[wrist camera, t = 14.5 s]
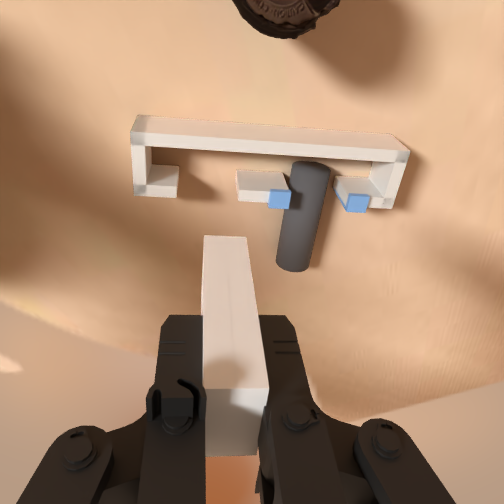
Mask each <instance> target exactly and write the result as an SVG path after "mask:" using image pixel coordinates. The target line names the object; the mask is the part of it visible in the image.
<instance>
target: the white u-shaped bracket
mask: <svg viewBox="0 0 504 504" xmlns="http://www.w3.org/2000/svg"><path fill="white" fill-rule="evenodd" d="M130 137H131V154H132V172H133V189H134V196H149V197H169V198H177V190H178V182H179V166H171V165H154V164H152V152H151V146H155V147H170V148H185V149H200V150H216V151H231V152H246V153H261V154H276V155H291V156H306V157H321V158H336V159H351V160H366V161H373V162H372V166H371V170H370V173H369V177H352V176H336V175H335V180H334V184H333V189H334V191H335V193H336V195H337V196H338V198H339V200H340V201H341V203H342V205H343V207H344V208H345V210H346V212H359V213H365V212H366V209H367V208H386V209H392V207H393V204H394V201H395V198H396V195H397V192H398V189H399V185H400V182H401V179H402V176H403V173H404V170H405V167H406V164H407V161H408V158H409V155H410V150H409V149H407V148H406V147H405V146H404V145H403V144H402V143H401V142H400V141H398V140H397V139H396V138H395V137H394V136H393V135H392V134H383V133H369V132H356V131H343V130H330V129H317V128H304V127H290V126H277V125H264V124H251V123H238V122H224V121H211V120H198V119H185V118H172V117H159V116H145V115H138V116H137V118H136V120H135V122H134V124H133V126H132V129H131V131H130ZM235 181H236V188H237V196H238V201H248V202H267V204H268V207H269V208H277V209H289V203H290V197H291V190H289V189H288V187H287V184H286V181H285V179H284V176H283V173H282V172H270V171H253V170H237V169H236V177H235Z"/></svg>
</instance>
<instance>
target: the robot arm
mask: <svg viewBox="0 0 504 504" xmlns="http://www.w3.org/2000/svg"><path fill="white" fill-rule="evenodd" d="M146 410H147V412H146V413H145V414H144V415H143V416H142V417H141V418H140V419H138V420H137V421H135V422H134V423H132V424H130V425H127V426H125V427H122V428H119V429H116V430H113V431H110V432H105V431H104V430H103V429H100V428H98V427H95V426H79V427H76V428H72V429H70V430H68V431H67V432H65V433H64V434H62V435H60V436H59V437H58V438H57V439H56V440H55V441H54V443H53V444H52V445H51V446H50V447H49V449H48V451H47V452H46V454H45V456H44V457H43V459H42V461H41V463H40V464H39V466H38V468H37V469H36V471H35V473H34V474H33V476H32V478H31V479H30V481H29V483H28V485H27V486H26V488H25V490H24V491H23V493H22V495H21V496H20V498H19V500H18V502H17V503H16V504H206V499H205V498H206V497H205V496H206V493H205V492H206V485H205V483H206V481H205V479H206V475H205V474H206V473H205V457H214V456H245V455H257V449H259V458H260V466H259V471H258V476H257V481H256V488H255V493H259V492H260V502H261V504H456V503H455V502H454V500H453V498H452V497H451V496H450V494H449V493H448V491H447V490H446V488H445V487H444V485H443V484H442V482H441V481H440V480H439V478H438V477H437V475H436V474H435V472H434V471H433V469H432V468H431V467H430V465H429V464H428V462H427V461H426V459H425V458H424V456H423V455H422V454H421V452H420V451H419V449H418V448H417V446H416V445H415V444H414V442H413V440H412V439H411V437H410V436H409V435H408V434H407V433H406V432H405V431H404V430H403V429H402V428H401V427H400V426H398V425H397V424H395V423H393V422H392V421H388V420H384V419H381V418H379V419H370V420H368V421H366V422H365V423H363V425H362V426H361V427H358V426H355V425H351V424H348V423H344V422H341V421H338V420H336V419H333V418H331V417H329V416H328V415H326V414H325V413H323V412H322V411H321V410H320V408H319V407H318V406H317V405H316V404H315V402H314V401H313V398H312V395H311V392H310V388H309V384H308V380H307V376H306V372H305V368H304V364H303V360H302V356H301V354H300V348H299V344H298V340H297V336H296V332H295V328H294V326H293V325H292V324H291V322H290V321H289V320H288V319H287V317H286V316H285V315H258V311H257V304H256V298H255V291H254V285H253V278H252V272H251V265H250V259H249V252H248V246H247V239H246V237H239V236H213V235H204V248H203V270H202V291H201V315H169V317H168V318H167V319H166V321H165V322H164V324H163V325H162V327H161V333H160V341H159V349H158V357H157V366H156V374H155V382H154V384H153V385H152V387H151V388H150V389H149V392H148V394H147V397H146Z"/></svg>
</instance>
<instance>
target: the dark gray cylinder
mask: <svg viewBox="0 0 504 504" xmlns="http://www.w3.org/2000/svg"><path fill="white" fill-rule="evenodd" d="M329 176H330V169H329V168H328V167H327V166H325V165H323V164H321V163H318V162H309V161H297V162H294V163H293V164H292V169H291V175H290V181H289V187H288V189H289V190H291V197H290V203H289V209H285V210H284V215H283V221H282V227H281V232H280V238H279V244H278V250H277V255H276V263H277V265H278V266H279V267H281V268H282V269H284V270H287V271H290V272H302V271H305V270H306V269H307V268H308V267H309V263H310V258H311V254H312V250H313V245H314V241H315V236H316V232H317V228H318V223H319V219H320V215H321V210H322V206H323V202H324V197H325V193H326V189H327V184H328V180H329Z"/></svg>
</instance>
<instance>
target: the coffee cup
mask: <svg viewBox="0 0 504 504" xmlns="http://www.w3.org/2000/svg"><path fill="white" fill-rule="evenodd" d="M232 1H233V2H234V4H235V6H236V7H237V9H238V11H239V12H240V15H241V16H242V18H243V19H245V20H246V21H247V22H248V23H249V24H250V25H251V26H252V27H253V28H254V29H256V30H257V31H259V32H260V33H263V34H264V35H267V36H270V37H274V38H281V39H287V38H292V39H296V38H297V37H298V36H299V35H302V34H304V33H306V32H308V31H309V30H311V29H315V27H316V23H315V22H316V21H317V19H318V18H320V17H321V16H324V15H327V14H328V13H329V12H330V11H331V10H332V9H333V8H335V7H337V6H338V5H339V3H340V0H232Z"/></svg>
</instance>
